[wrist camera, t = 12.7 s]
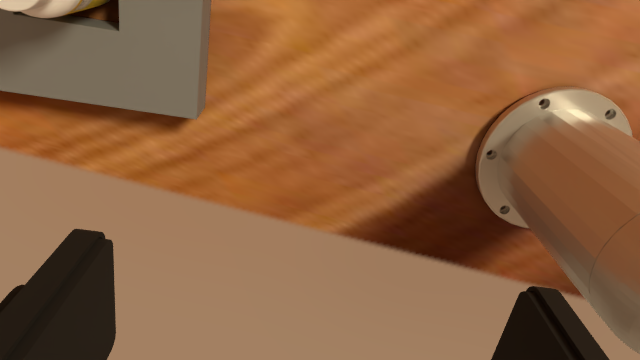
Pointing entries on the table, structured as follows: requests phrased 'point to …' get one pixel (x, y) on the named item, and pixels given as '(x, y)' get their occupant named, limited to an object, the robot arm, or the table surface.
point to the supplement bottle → (49, 6)
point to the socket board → (112, 57)
